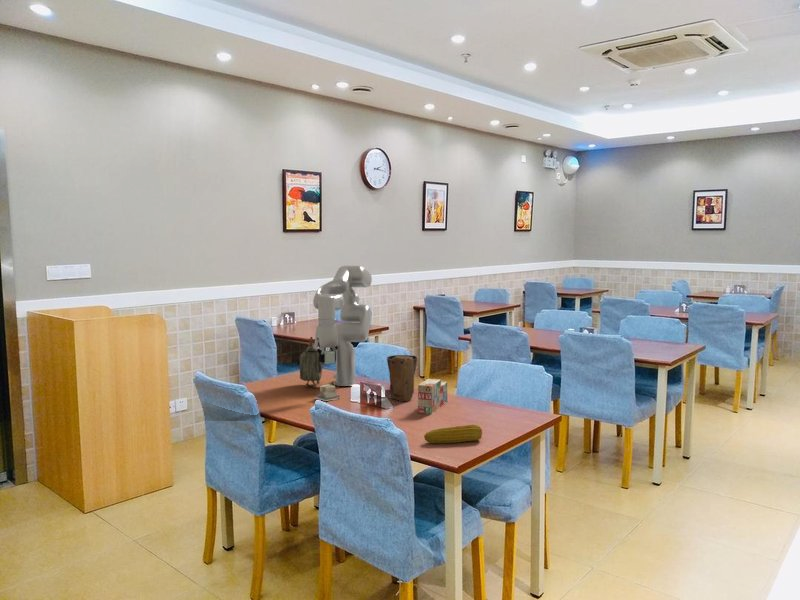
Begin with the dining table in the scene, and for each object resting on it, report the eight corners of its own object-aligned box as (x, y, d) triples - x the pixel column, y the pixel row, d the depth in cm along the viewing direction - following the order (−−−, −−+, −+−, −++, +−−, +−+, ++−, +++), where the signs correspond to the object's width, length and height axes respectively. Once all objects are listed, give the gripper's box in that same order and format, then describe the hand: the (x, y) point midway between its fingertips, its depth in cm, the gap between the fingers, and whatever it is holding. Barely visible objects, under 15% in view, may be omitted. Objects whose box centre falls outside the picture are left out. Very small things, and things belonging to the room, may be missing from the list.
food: (478, 438, 213) (478, 422, 213) (483, 443, 208) (483, 426, 207) (422, 442, 209) (422, 425, 208) (426, 447, 203) (426, 430, 203)
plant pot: (382, 392, 281) (382, 359, 280) (392, 385, 295) (392, 354, 294) (412, 394, 277) (412, 361, 275) (421, 387, 291) (421, 355, 289)
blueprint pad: (315, 398, 269) (315, 395, 269) (329, 395, 274) (329, 392, 274) (325, 402, 263) (325, 398, 263) (339, 398, 268) (339, 395, 268)
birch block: (320, 396, 269) (320, 386, 268) (328, 394, 272) (328, 384, 272) (326, 398, 265) (326, 387, 265) (335, 396, 268) (335, 386, 268)
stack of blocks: (434, 400, 265) (434, 374, 264) (447, 402, 263) (447, 375, 262) (417, 413, 246) (417, 384, 244) (431, 414, 243) (431, 385, 242)
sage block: (319, 362, 267) (319, 351, 267) (328, 361, 270) (328, 350, 270) (326, 364, 263) (325, 353, 263) (334, 362, 267) (334, 351, 266)
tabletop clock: (318, 389, 286) (317, 339, 284) (299, 389, 286) (298, 339, 284) (322, 383, 301) (321, 335, 299) (304, 383, 301) (303, 335, 299)
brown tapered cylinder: (415, 399, 267) (415, 356, 266) (405, 402, 261) (405, 358, 260) (397, 395, 274) (397, 353, 272) (387, 399, 268) (386, 356, 266)
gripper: (336, 320, 274) (336, 358, 275) (306, 323, 262) (306, 363, 264) (346, 321, 269) (346, 360, 270) (316, 324, 257) (316, 365, 258)
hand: (327, 361), depth 267 cm, fingers closed on sage block, 5 cm apart
